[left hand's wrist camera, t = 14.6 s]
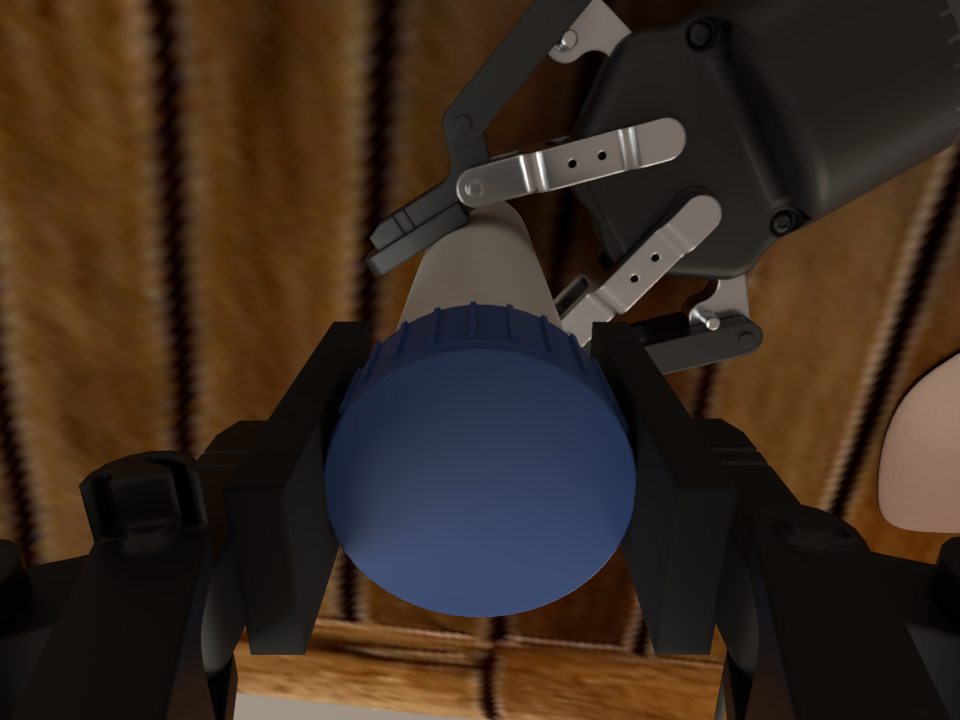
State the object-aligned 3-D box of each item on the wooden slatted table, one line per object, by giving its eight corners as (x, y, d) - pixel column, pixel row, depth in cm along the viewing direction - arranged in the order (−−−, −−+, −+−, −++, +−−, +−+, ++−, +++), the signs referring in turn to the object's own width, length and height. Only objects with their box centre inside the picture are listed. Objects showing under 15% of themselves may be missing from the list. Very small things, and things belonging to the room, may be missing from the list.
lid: (411, 249, 11) (395, 284, 9) (666, 371, 12) (707, 430, 10) (306, 479, 13) (272, 555, 10) (535, 571, 13) (546, 658, 11)
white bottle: (521, 187, 27) (597, 337, 10) (533, 283, 29) (617, 562, 11) (423, 202, 27) (324, 377, 10) (440, 297, 29) (381, 591, 12)
